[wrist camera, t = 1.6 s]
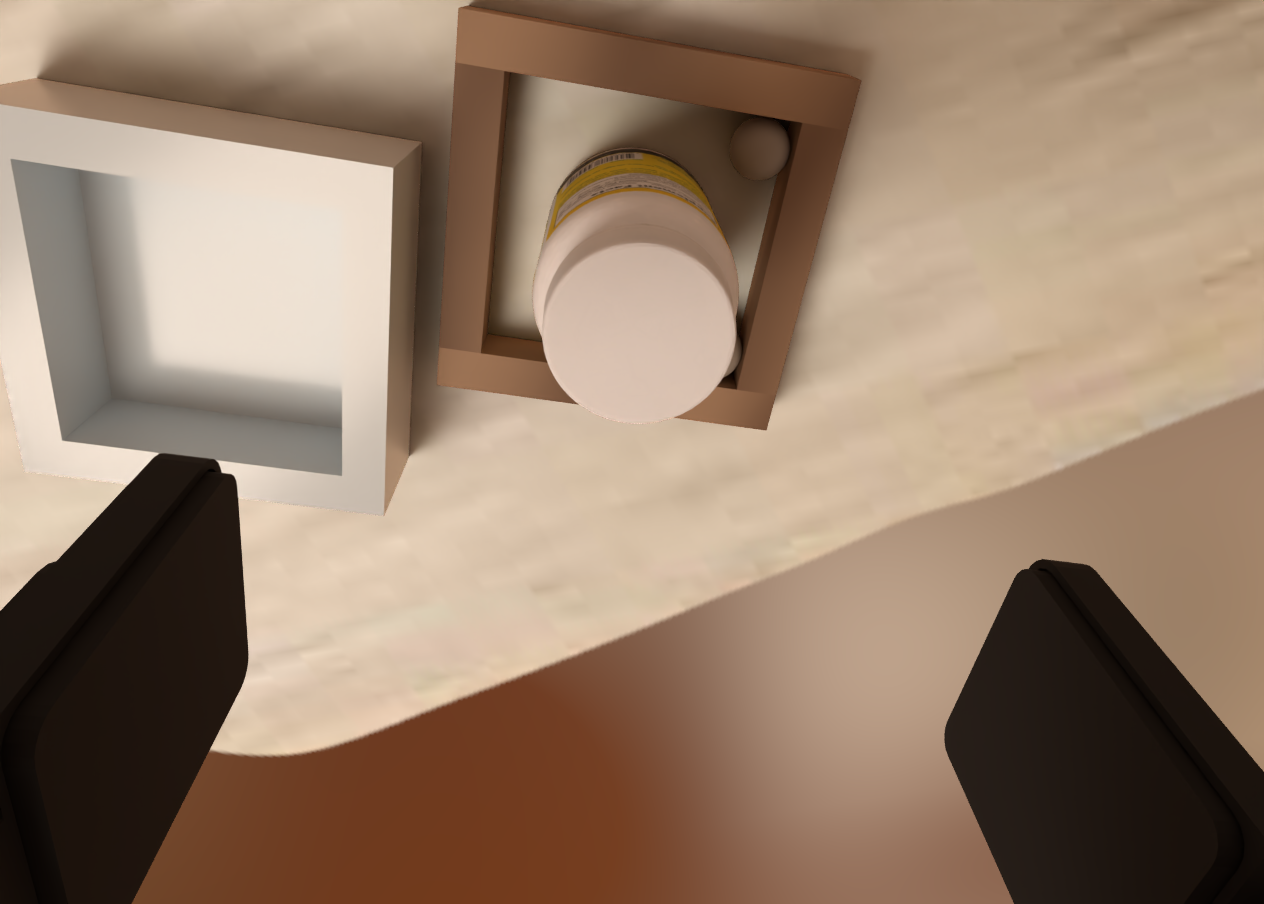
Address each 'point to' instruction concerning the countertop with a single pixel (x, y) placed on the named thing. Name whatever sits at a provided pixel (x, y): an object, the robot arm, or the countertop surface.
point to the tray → (663, 72)
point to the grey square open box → (207, 293)
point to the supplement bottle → (635, 288)
